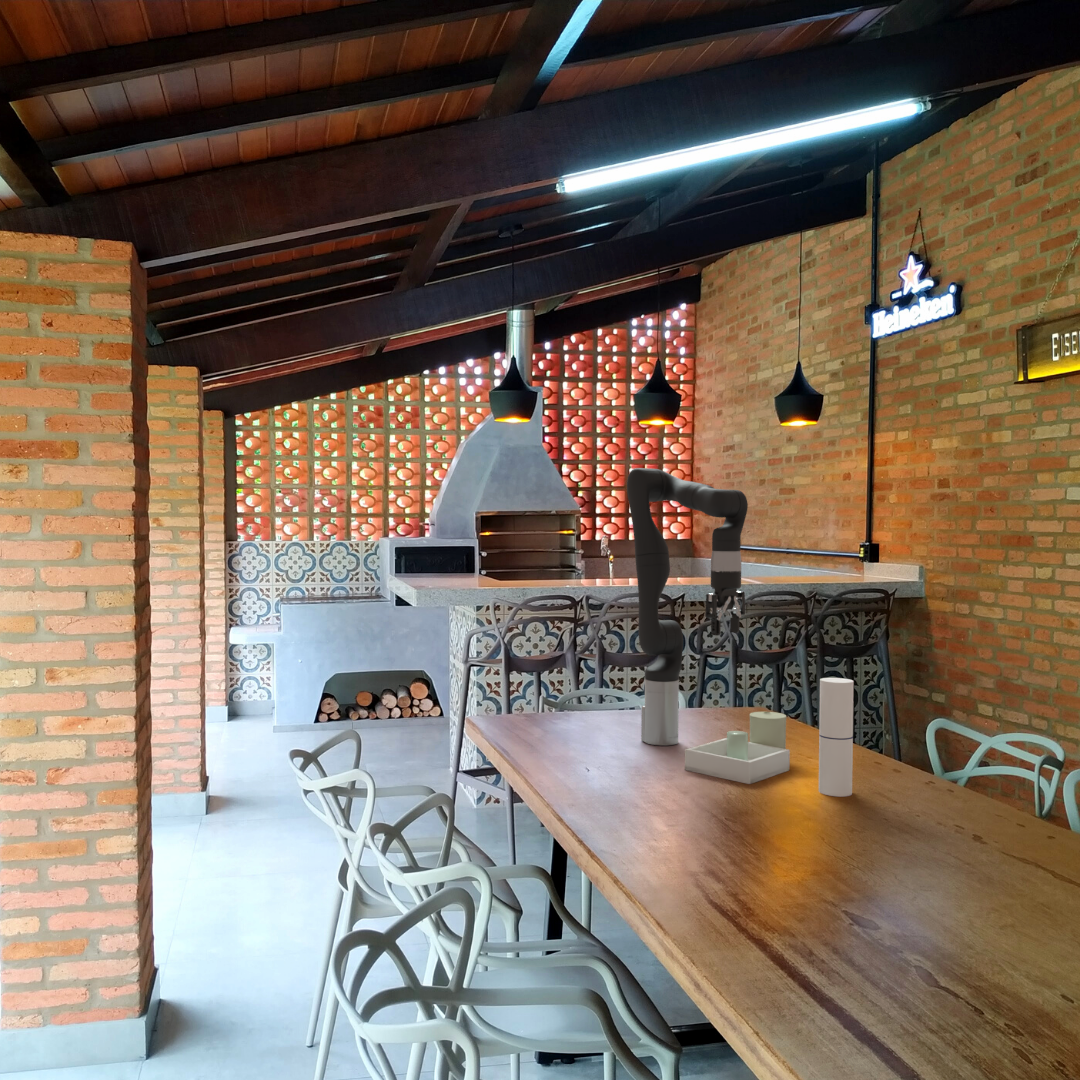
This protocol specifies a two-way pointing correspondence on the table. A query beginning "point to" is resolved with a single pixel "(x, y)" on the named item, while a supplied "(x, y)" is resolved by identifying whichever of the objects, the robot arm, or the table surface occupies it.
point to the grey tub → (737, 761)
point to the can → (768, 729)
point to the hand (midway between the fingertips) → (725, 633)
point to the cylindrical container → (836, 736)
